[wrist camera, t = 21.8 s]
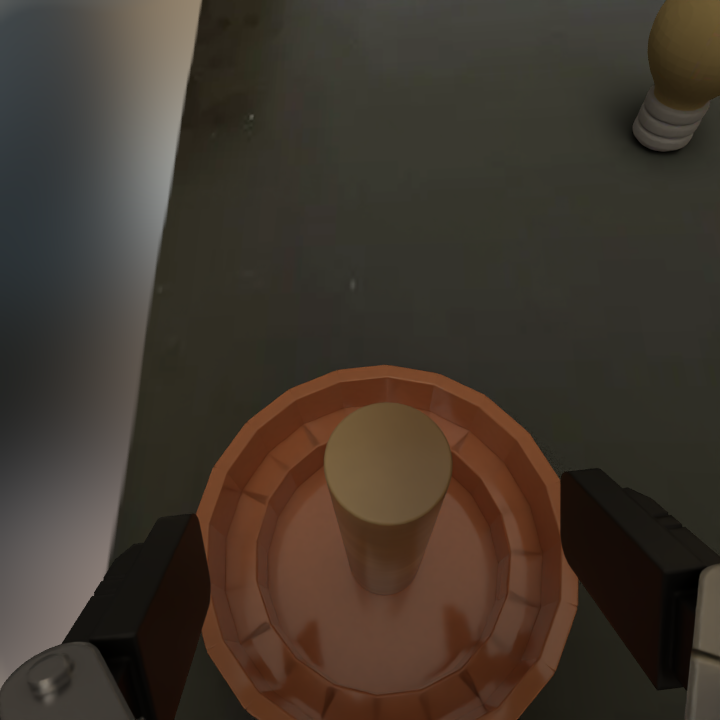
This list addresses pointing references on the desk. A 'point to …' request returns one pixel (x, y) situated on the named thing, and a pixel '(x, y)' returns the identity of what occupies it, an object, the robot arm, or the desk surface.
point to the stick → (387, 490)
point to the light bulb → (680, 73)
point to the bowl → (397, 611)
